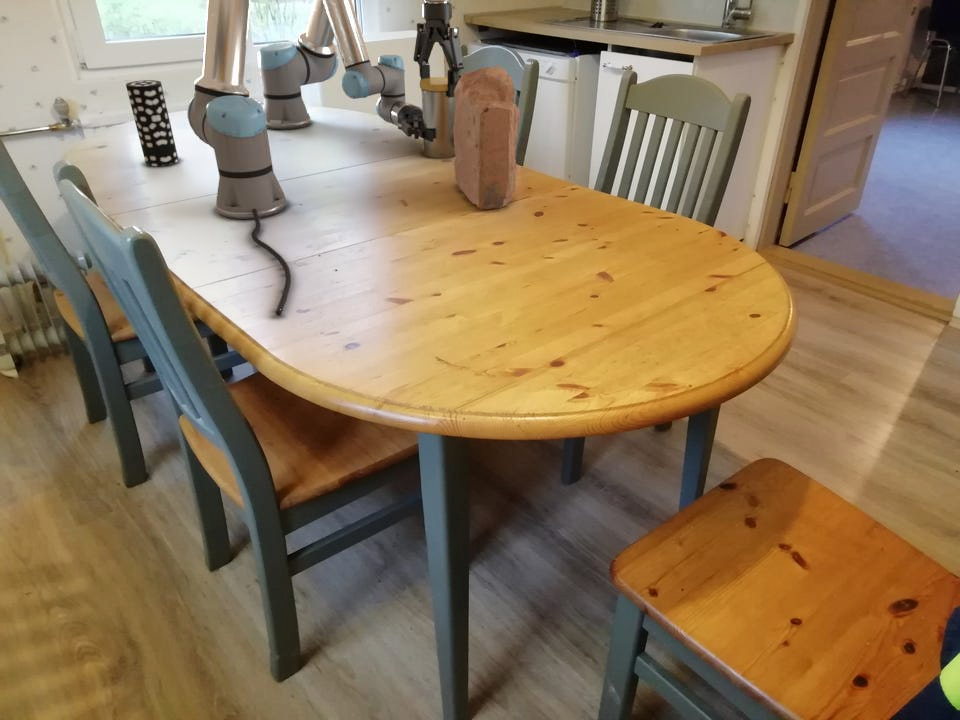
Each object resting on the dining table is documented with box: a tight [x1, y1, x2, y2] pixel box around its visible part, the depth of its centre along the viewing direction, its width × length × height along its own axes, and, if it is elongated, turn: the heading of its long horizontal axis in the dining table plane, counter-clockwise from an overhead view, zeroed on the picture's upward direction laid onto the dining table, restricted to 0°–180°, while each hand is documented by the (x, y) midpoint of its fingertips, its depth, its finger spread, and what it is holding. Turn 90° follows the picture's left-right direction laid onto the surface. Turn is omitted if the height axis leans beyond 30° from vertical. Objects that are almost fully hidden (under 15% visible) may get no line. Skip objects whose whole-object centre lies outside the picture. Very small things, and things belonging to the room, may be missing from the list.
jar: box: [421, 89, 456, 159], centre depth 191 cm, size 9×9×19 cm
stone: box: [453, 66, 520, 210], centre depth 159 cm, size 22×11×28 cm, turn 18°
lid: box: [419, 76, 448, 91], centre depth 186 cm, size 10×10×2 cm
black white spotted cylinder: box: [125, 79, 179, 167], centre depth 181 cm, size 8×8×20 cm
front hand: (438, 93), depth 187 cm, fingers closed on lid, 10 cm apart
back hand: (447, 134), depth 190 cm, fingers closed on jar, 9 cm apart
